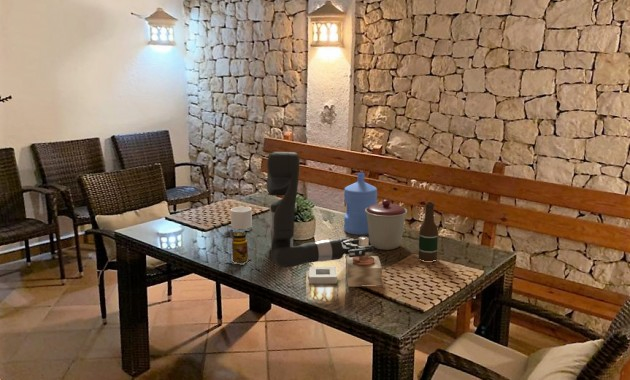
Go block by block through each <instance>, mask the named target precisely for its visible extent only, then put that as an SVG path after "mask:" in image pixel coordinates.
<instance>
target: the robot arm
mask: <svg viewBox="0 0 630 380" xmlns="http://www.w3.org/2000/svg"><path fill="white" fill-rule="evenodd" d="M299 156H300V155H299V154H298V153H297V152H293V151H291V152H290V151H273V152H271V153H270V154H269V155H268V157H267V162H266V169H267V177H266V190H267V193H268V194H269V195H270V196H283V197H282V198H280V200H277V201H275V202H272V203H271V204H270V244H271V245H270V247H271V248H270V254H271V255H270V256H271V260H272V262H273V263H274V264H275V265H277V266H279V267H280V268H284V269H285V268H293V267H297V266H300V265H304V264H310V263H311V264H312V263H317V262H318V263H319V262H321V263H322V262H331V261H337V260H341V259H343V256H344V255H346V256H347V255H348V256H349V257H359V256H365V253H367V252H368V253H373V252H374V251H375V247H374V246H373V245H371V244H370V245H369V246H359V238H351V237H341V238H338V237H337V238H329V239H323V240H317V241H312V242H311V241H310V242H305V243H301V244H299V245H297V246H294V234H295V210H296V200H297V193H298V185H299V177H300V157H299Z"/></svg>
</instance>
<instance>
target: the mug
mask: <svg viewBox="0 0 630 380" xmlns="http://www.w3.org/2000/svg"><path fill="white" fill-rule="evenodd" d="M252 215H253V210H252V207H250V206H235V207H232V208H230V223H231V224H230V226H232V227H233V228H235V229H247V228H250V227H252V228H253V216H252Z"/></svg>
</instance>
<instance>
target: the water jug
mask: <svg viewBox="0 0 630 380" xmlns="http://www.w3.org/2000/svg"><path fill="white" fill-rule="evenodd" d="M356 177H357V181H356V182H354V183H352V184H350V185H349V184H348V185H347V186H344V191H343V197H344V199H343V200H344V203H345V204H346V213H345V214H344V217H343V218H344V219H343V220H344V221H343V223H344V224H343V229H344V231H345V232H346V233H347V234H350V235H357V236H363V235H364V236H365V235H369V233H368V223H367V213H366V212H365V209H366V208H367V207H369V206H371V205H374V204H378V203H377V202H378V201H377V200H378V189H377V187H376V186H374V185H372V184H370V183H367V182H365V173H364V172H358V173H357V176H356Z"/></svg>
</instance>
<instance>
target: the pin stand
mask: <svg viewBox="0 0 630 380" xmlns="http://www.w3.org/2000/svg"><path fill="white" fill-rule="evenodd" d="M308 271H309V276H308V277H309V281H308V283H309V285H310V284H337V283H338V281H337V280H338V273H337V267H336V266H310V267H309V270H308Z"/></svg>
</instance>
